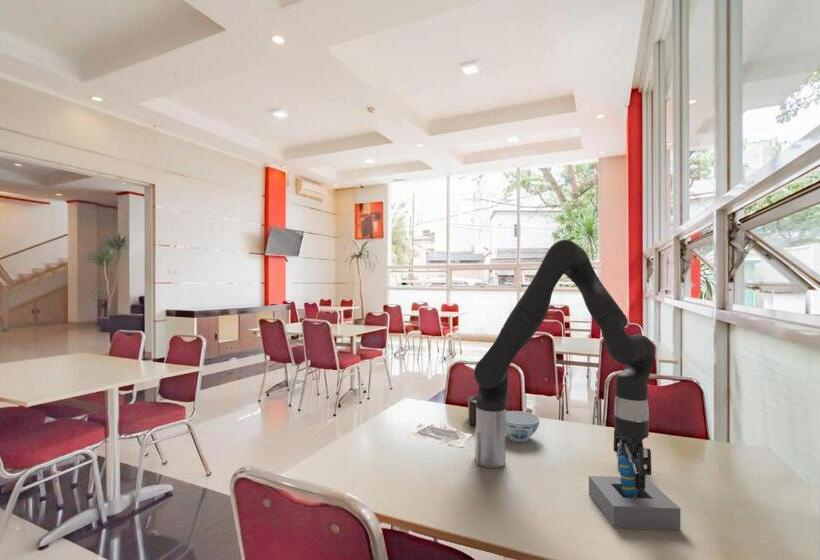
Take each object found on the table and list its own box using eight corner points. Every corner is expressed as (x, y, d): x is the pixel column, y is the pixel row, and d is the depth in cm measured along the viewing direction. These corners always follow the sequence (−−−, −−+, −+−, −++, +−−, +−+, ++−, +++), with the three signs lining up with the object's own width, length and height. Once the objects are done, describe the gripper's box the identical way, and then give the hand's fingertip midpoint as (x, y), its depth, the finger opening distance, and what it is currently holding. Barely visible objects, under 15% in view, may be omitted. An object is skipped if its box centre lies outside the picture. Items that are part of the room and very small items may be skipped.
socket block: (613, 527, 95) (613, 506, 95) (588, 494, 110) (588, 475, 110) (680, 530, 94) (680, 508, 94) (646, 496, 109) (646, 477, 109)
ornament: (614, 504, 105) (614, 446, 105) (633, 504, 105) (633, 445, 105) (626, 516, 100) (626, 454, 100) (646, 515, 100) (646, 453, 100)
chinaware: (544, 436, 152) (544, 415, 152) (532, 449, 139) (533, 427, 139) (505, 428, 160) (505, 408, 160) (491, 440, 147) (491, 419, 148)
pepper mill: (497, 427, 161) (498, 381, 161) (469, 426, 162) (469, 380, 162) (492, 414, 177) (493, 373, 177) (466, 414, 177) (467, 372, 178)
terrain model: (416, 429, 163) (416, 416, 163) (474, 433, 156) (473, 420, 156) (402, 444, 147) (402, 429, 148) (465, 449, 140) (465, 434, 140)
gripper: (603, 406, 109) (603, 467, 109) (629, 424, 95) (629, 494, 95) (632, 407, 109) (632, 468, 109) (662, 425, 95) (662, 495, 95)
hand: (631, 480), depth 102 cm, fingers open, 8 cm apart
